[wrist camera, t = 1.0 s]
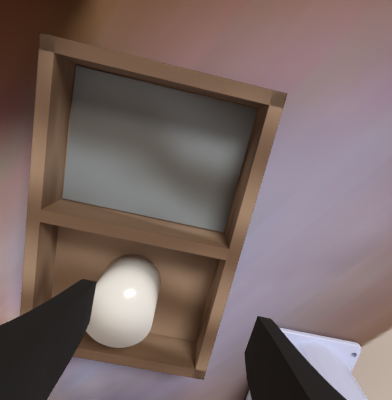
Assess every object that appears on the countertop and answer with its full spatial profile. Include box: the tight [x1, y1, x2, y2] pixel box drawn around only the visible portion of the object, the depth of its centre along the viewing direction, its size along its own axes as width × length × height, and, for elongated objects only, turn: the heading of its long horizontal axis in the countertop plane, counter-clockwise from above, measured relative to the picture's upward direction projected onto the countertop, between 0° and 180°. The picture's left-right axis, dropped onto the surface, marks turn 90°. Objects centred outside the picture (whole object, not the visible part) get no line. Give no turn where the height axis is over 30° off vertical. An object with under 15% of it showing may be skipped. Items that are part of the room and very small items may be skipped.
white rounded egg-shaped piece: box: [86, 254, 161, 348], centre depth 19 cm, size 4×4×4 cm
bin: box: [20, 33, 287, 380], centre depth 19 cm, size 20×14×4 cm, turn 167°
